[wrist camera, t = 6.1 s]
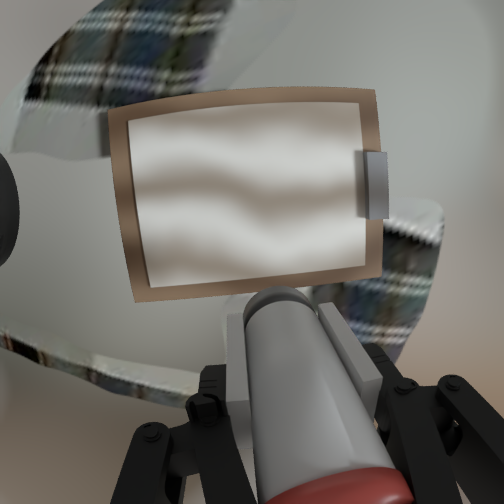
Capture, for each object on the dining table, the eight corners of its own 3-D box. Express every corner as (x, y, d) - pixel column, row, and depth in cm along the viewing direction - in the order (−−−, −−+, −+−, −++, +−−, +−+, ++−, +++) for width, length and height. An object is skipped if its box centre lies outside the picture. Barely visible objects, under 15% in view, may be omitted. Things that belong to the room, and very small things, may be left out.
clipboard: (113, 112, 25) (102, 107, 22) (368, 92, 26) (380, 87, 23) (139, 296, 30) (131, 308, 27) (375, 271, 31) (386, 280, 28)
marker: (237, 288, 17) (251, 521, 4) (313, 279, 17) (437, 475, 5) (244, 352, 18) (263, 564, 6) (313, 343, 18) (394, 536, 6)
